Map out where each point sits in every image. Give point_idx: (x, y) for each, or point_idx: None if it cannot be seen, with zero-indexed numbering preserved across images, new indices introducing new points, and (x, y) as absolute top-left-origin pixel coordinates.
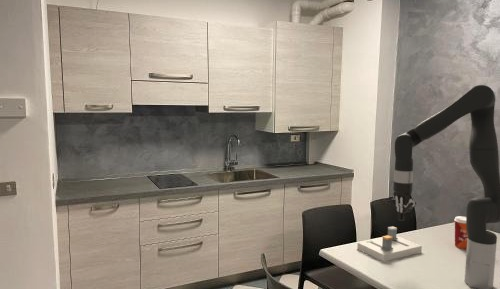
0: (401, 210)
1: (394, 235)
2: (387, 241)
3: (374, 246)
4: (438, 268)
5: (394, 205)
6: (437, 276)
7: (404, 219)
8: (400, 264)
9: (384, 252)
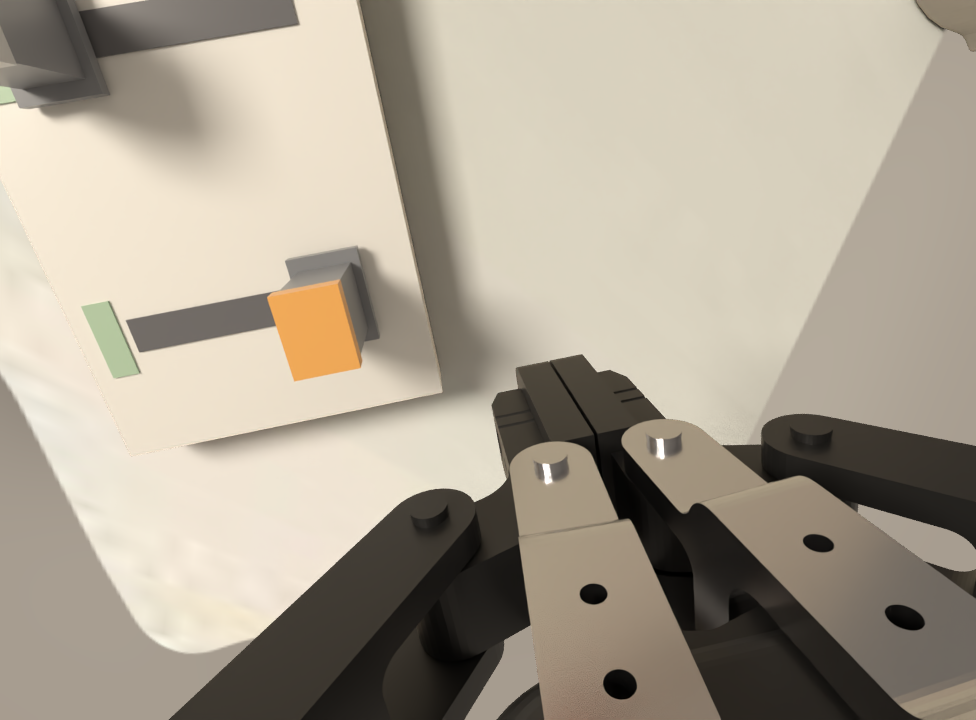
0: (692, 587)
1: (40, 14)
2: (357, 341)
3: (248, 364)
4: (680, 14)
5: (451, 716)
6: (770, 149)
7: (615, 381)
8: (518, 278)
9: (397, 357)
